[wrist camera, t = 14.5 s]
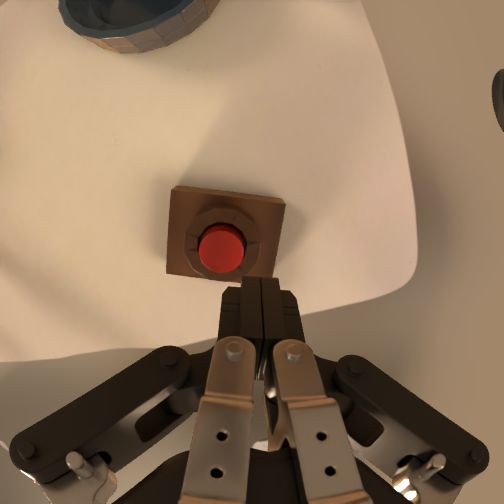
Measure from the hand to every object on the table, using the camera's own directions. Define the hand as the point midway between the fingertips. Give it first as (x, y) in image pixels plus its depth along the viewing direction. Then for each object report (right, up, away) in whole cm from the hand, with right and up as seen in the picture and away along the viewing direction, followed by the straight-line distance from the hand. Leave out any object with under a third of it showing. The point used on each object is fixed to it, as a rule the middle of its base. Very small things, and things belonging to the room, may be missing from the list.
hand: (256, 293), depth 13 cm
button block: (-3, +4, +17) cm, 17 cm away
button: (-3, +2, +13) cm, 14 cm away
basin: (-10, +27, +7) cm, 30 cm away
